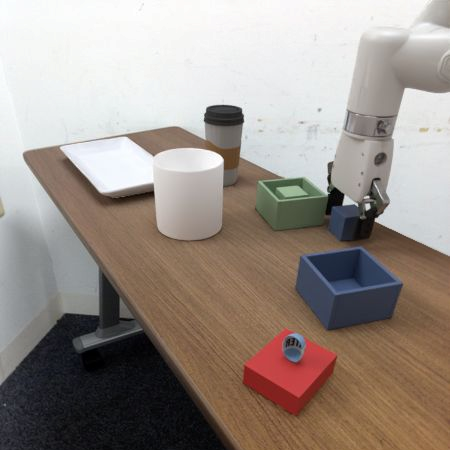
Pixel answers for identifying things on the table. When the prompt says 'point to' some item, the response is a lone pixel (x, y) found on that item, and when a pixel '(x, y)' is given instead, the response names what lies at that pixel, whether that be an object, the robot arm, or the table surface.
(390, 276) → the slate bin
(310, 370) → the red rectangular block
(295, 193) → the sage block
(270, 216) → the sage bin
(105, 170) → the tray
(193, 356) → the table surface
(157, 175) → the cup
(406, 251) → the table surface
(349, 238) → the slate block
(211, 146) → the coffee cup
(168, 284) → the table surface
